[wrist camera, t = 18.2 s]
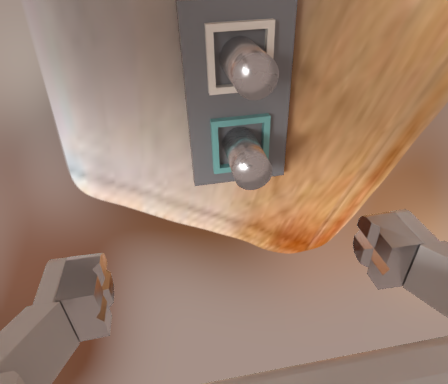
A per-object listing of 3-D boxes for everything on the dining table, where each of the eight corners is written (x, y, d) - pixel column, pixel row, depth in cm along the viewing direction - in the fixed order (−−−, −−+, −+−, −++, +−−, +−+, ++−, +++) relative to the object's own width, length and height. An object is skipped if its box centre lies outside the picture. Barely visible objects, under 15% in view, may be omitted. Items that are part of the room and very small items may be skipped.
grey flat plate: (193, 180, 50) (195, 189, 48) (175, -1, 36) (177, 2, 34) (280, 169, 51) (285, 178, 49) (293, -8, 38) (301, -5, 36)
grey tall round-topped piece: (220, 78, 41) (234, 102, 34) (218, 37, 38) (232, 55, 31) (257, 75, 41) (277, 97, 35) (258, 34, 38) (280, 50, 32)
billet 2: (222, 158, 47) (234, 192, 40) (221, 128, 44) (233, 158, 38) (255, 155, 47) (271, 187, 41) (255, 125, 45) (273, 154, 38)
